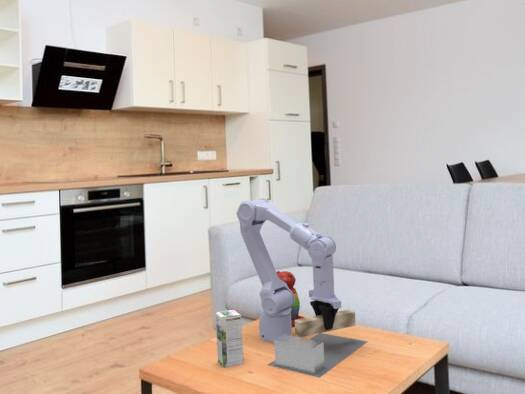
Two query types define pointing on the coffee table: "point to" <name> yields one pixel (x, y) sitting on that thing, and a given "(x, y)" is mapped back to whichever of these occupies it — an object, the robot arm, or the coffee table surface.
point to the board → (331, 351)
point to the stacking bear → (290, 282)
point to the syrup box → (229, 338)
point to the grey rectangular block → (299, 353)
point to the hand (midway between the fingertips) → (325, 327)
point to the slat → (317, 324)
